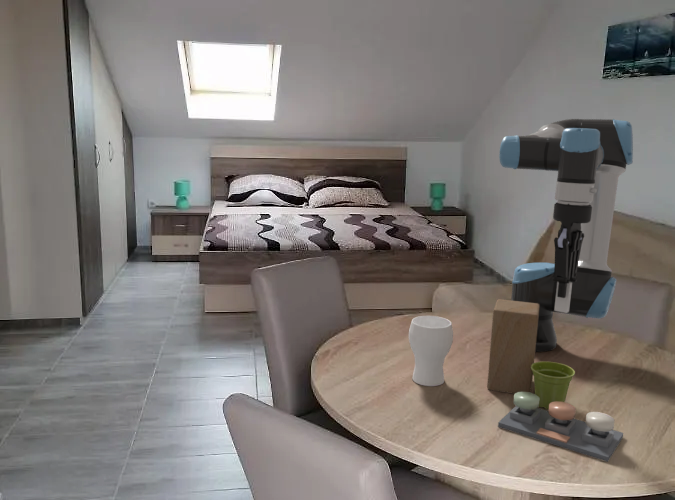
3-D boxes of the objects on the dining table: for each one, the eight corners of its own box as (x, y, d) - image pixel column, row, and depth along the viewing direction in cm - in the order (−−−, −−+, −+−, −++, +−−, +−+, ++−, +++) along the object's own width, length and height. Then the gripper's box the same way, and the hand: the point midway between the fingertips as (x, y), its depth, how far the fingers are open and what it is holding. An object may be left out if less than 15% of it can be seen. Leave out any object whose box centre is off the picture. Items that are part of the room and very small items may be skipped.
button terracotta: (544, 421, 131) (545, 407, 130) (552, 412, 135) (553, 399, 134) (569, 429, 128) (571, 415, 127) (577, 419, 132) (579, 406, 132)
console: (497, 426, 134) (498, 416, 133) (518, 406, 143) (519, 397, 143) (607, 461, 121) (609, 450, 121) (622, 437, 131) (624, 427, 130)
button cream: (581, 432, 127) (583, 418, 126) (588, 422, 131) (590, 409, 130) (609, 440, 124) (610, 426, 123) (615, 430, 128) (617, 416, 127)
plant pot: (521, 395, 149) (524, 361, 147) (560, 395, 150) (564, 360, 148) (537, 414, 140) (540, 377, 138) (578, 413, 141) (582, 377, 139)
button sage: (509, 410, 135) (510, 397, 135) (518, 402, 139) (519, 389, 139) (533, 418, 132) (534, 404, 132) (541, 409, 136) (543, 396, 136)
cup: (401, 384, 153) (404, 325, 150) (412, 368, 163) (415, 312, 160) (445, 392, 150) (449, 331, 147) (453, 375, 160) (457, 318, 156)
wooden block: (532, 380, 158) (539, 303, 153) (530, 397, 148) (538, 315, 144) (491, 374, 161) (497, 298, 157) (486, 390, 152) (493, 309, 147)
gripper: (582, 206, 127) (569, 320, 131) (600, 202, 137) (588, 308, 141) (545, 202, 131) (533, 313, 135) (565, 199, 141) (554, 302, 145)
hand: (561, 311), depth 138 cm, fingers closed
